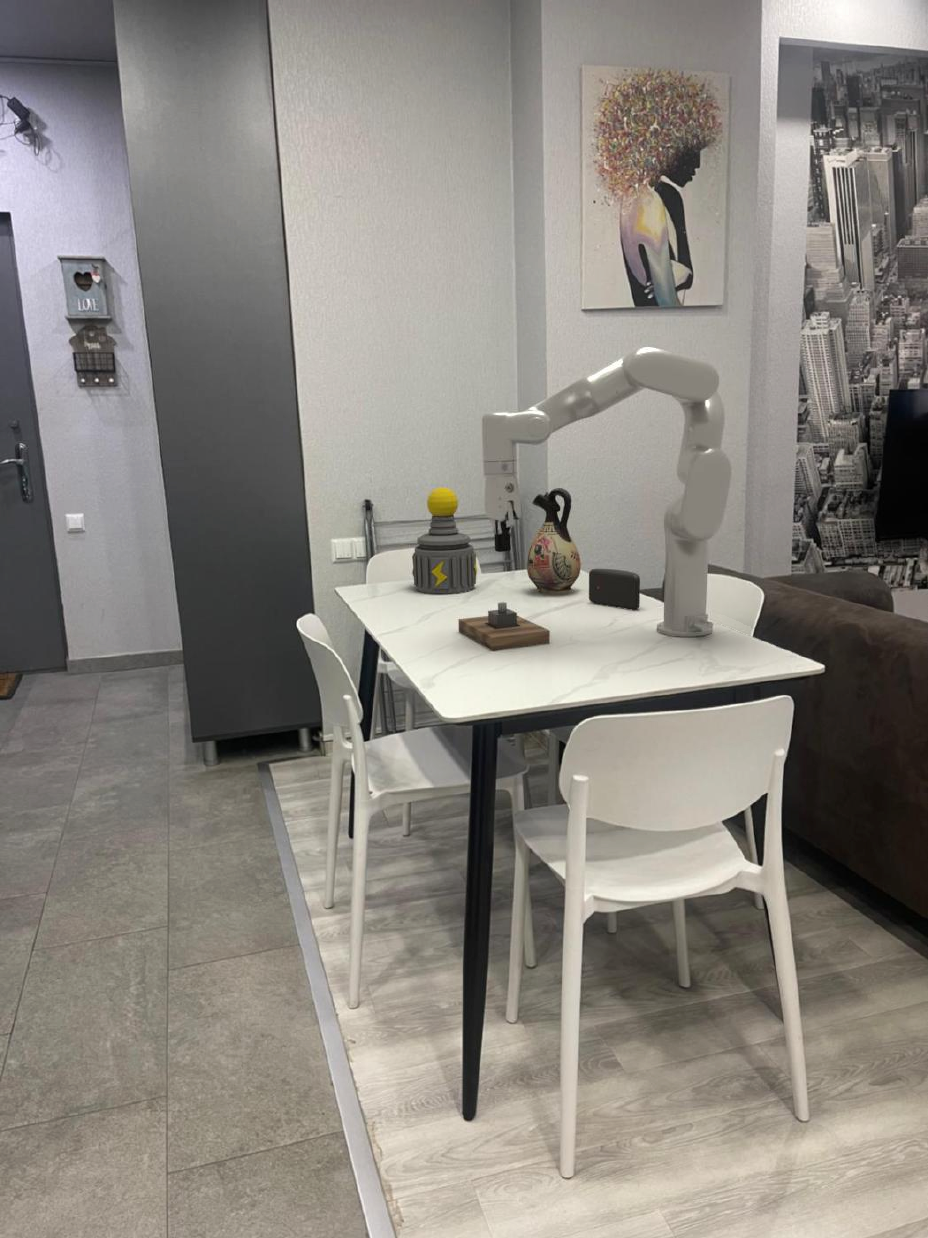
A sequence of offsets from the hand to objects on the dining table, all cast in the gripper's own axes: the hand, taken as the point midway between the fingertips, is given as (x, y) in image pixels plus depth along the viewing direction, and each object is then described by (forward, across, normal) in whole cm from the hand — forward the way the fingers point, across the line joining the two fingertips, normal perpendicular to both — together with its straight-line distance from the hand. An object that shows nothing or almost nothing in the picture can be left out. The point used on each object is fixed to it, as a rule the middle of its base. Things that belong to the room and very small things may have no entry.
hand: (502, 550), depth 202 cm
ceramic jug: (+21, +41, -34) cm, 57 cm away
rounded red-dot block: (+21, +17, -39) cm, 48 cm away
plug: (+19, 0, 0) cm, 19 cm away
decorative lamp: (+20, +62, -8) cm, 66 cm away
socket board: (+20, 0, +1) cm, 20 cm away
